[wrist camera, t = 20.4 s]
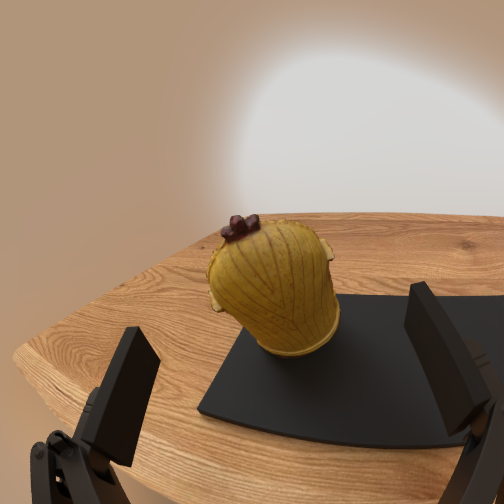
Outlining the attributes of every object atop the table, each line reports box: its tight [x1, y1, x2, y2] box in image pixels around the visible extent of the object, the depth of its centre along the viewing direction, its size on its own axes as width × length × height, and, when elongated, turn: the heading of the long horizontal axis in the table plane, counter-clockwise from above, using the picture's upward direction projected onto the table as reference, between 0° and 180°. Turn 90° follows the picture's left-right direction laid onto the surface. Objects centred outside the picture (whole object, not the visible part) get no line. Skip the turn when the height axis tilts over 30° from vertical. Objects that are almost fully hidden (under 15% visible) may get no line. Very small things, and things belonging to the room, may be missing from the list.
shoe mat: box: [197, 294, 504, 449], centre depth 18 cm, size 40×16×1 cm, turn 68°
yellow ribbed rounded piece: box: [206, 214, 341, 358], centre depth 20 cm, size 12×8×15 cm
